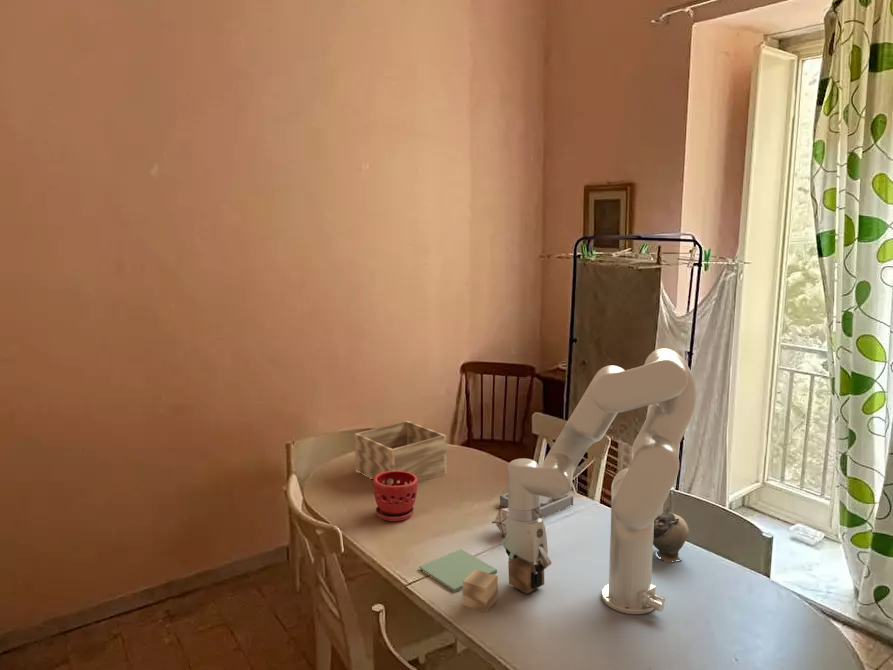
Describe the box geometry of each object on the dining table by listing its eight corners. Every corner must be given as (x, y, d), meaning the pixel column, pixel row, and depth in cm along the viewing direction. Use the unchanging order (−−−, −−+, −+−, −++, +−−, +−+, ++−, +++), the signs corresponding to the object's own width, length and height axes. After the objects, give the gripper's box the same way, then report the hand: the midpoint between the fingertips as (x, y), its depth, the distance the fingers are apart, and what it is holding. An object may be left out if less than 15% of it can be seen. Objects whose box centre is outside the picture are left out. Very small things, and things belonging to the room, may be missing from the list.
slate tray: (573, 505, 208) (573, 495, 207) (535, 521, 197) (535, 511, 196) (537, 490, 219) (537, 481, 218) (499, 504, 208) (499, 495, 208)
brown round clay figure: (639, 551, 179) (666, 568, 169) (640, 509, 177) (667, 524, 168) (668, 543, 183) (696, 560, 173) (670, 502, 181) (698, 516, 172)
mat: (496, 572, 169) (496, 569, 169) (454, 592, 160) (454, 589, 160) (460, 551, 180) (460, 548, 179) (419, 569, 171) (419, 566, 171)
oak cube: (497, 599, 157) (497, 576, 156) (485, 612, 152) (485, 588, 151) (475, 592, 160) (475, 569, 159) (462, 605, 155) (462, 581, 154)
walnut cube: (544, 584, 161) (543, 561, 160) (527, 593, 157) (526, 570, 156) (526, 574, 166) (525, 552, 165) (509, 583, 162) (508, 561, 161)
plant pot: (392, 529, 193) (391, 489, 191) (366, 514, 203) (364, 477, 201) (426, 515, 202) (426, 477, 200) (400, 502, 212) (399, 466, 209)
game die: (513, 548, 189) (523, 531, 182) (485, 536, 190) (494, 518, 183) (522, 522, 195) (531, 505, 188) (495, 510, 196) (503, 492, 189)
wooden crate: (446, 473, 235) (446, 435, 232) (392, 490, 220) (391, 450, 218) (408, 456, 252) (407, 420, 250) (355, 471, 238) (354, 433, 235)
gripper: (562, 517, 154) (564, 589, 157) (510, 496, 167) (512, 563, 170) (540, 527, 150) (542, 601, 153) (488, 505, 163) (490, 573, 166)
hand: (526, 580), depth 162 cm, fingers closed on walnut cube, 6 cm apart
